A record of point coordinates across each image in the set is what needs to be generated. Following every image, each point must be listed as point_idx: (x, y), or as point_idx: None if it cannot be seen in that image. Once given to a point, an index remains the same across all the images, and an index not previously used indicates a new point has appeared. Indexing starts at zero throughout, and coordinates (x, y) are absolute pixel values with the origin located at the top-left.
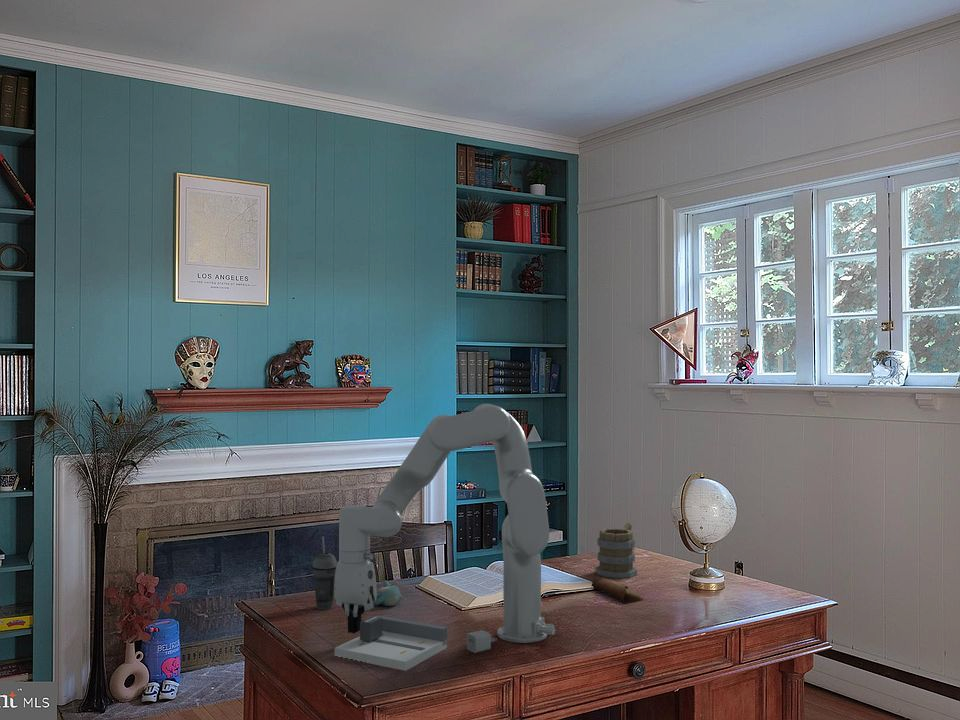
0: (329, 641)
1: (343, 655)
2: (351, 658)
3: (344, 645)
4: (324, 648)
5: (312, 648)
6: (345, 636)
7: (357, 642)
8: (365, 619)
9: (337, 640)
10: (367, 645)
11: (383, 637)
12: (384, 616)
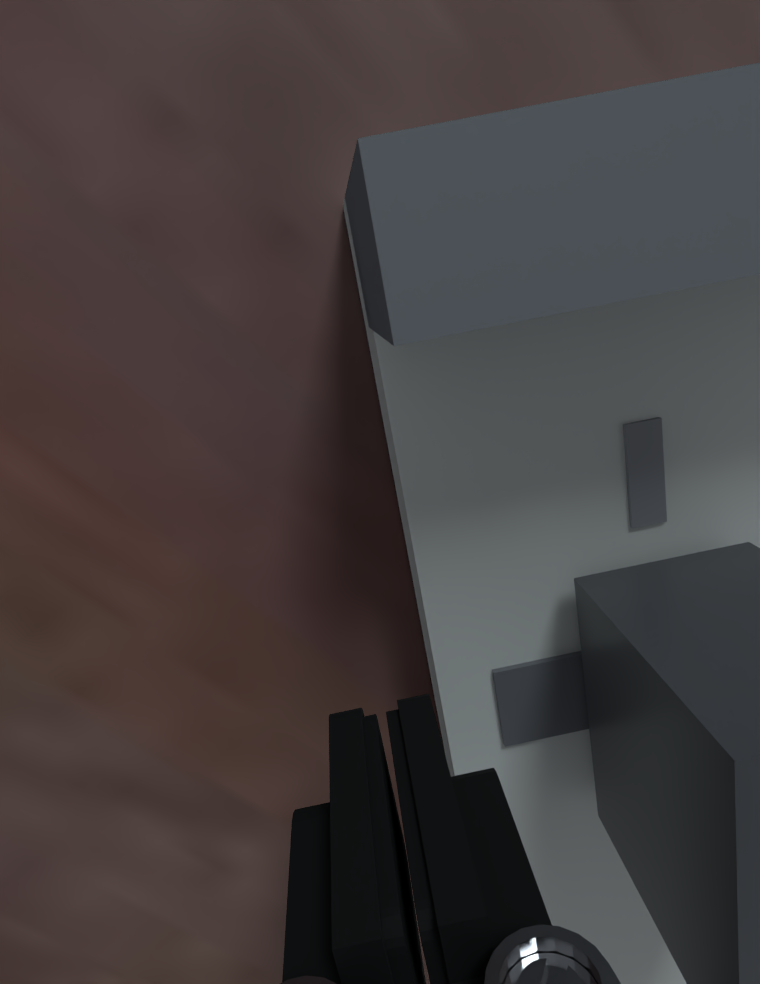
0: (64, 769)
1: None
2: None
3: None
4: (226, 911)
5: (137, 976)
6: (31, 543)
7: (586, 831)
8: (756, 972)
9: (99, 695)
10: None
11: (740, 514)
12: (526, 118)
